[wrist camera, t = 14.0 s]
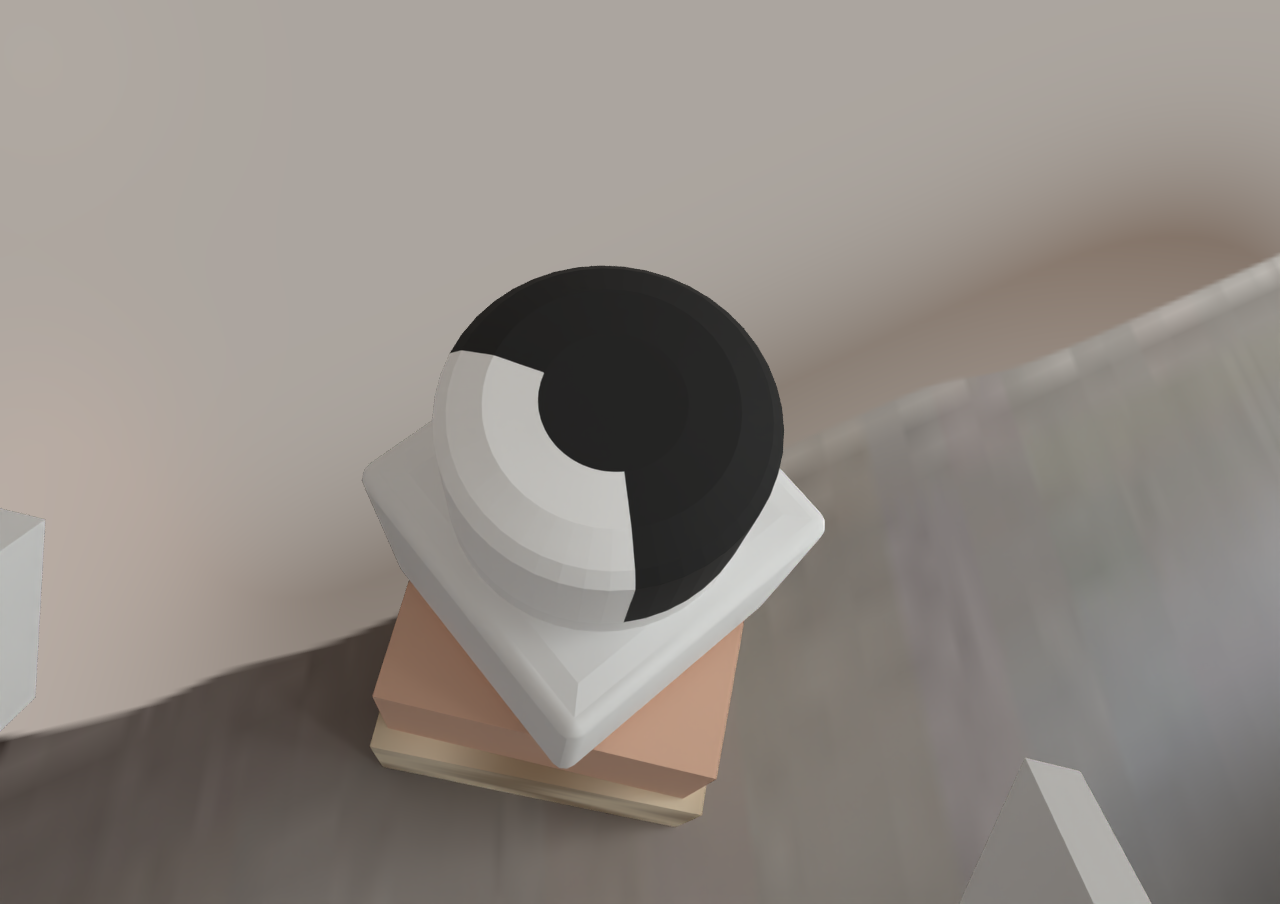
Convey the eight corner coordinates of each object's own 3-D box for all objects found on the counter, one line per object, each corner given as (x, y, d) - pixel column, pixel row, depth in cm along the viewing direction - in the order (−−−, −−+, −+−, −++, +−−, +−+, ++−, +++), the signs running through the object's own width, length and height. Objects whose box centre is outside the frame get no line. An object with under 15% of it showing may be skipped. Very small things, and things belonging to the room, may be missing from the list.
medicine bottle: (600, 410, 31) (639, 149, 20) (767, 601, 29) (913, 435, 18) (393, 561, 29) (304, 365, 17) (562, 776, 27) (582, 711, 16)
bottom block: (717, 553, 41) (747, 507, 36) (674, 827, 36) (701, 815, 32) (457, 496, 40) (455, 442, 35) (383, 767, 36) (369, 746, 31)
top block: (734, 523, 36) (771, 465, 31) (682, 798, 32) (716, 779, 27) (470, 457, 35) (469, 389, 31) (388, 728, 32) (372, 696, 27)
